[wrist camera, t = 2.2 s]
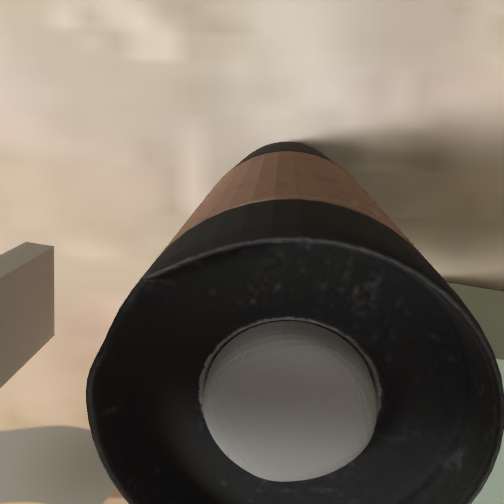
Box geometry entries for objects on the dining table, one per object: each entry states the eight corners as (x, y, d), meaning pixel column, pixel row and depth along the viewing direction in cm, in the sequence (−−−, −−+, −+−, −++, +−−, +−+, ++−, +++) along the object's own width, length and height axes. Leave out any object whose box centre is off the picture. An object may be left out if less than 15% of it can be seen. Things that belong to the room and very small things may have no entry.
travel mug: (356, 245, 27) (526, 566, 8) (240, 268, 28) (151, 599, 9) (335, 123, 25) (505, 175, 6) (210, 153, 26) (9, 278, 7)
